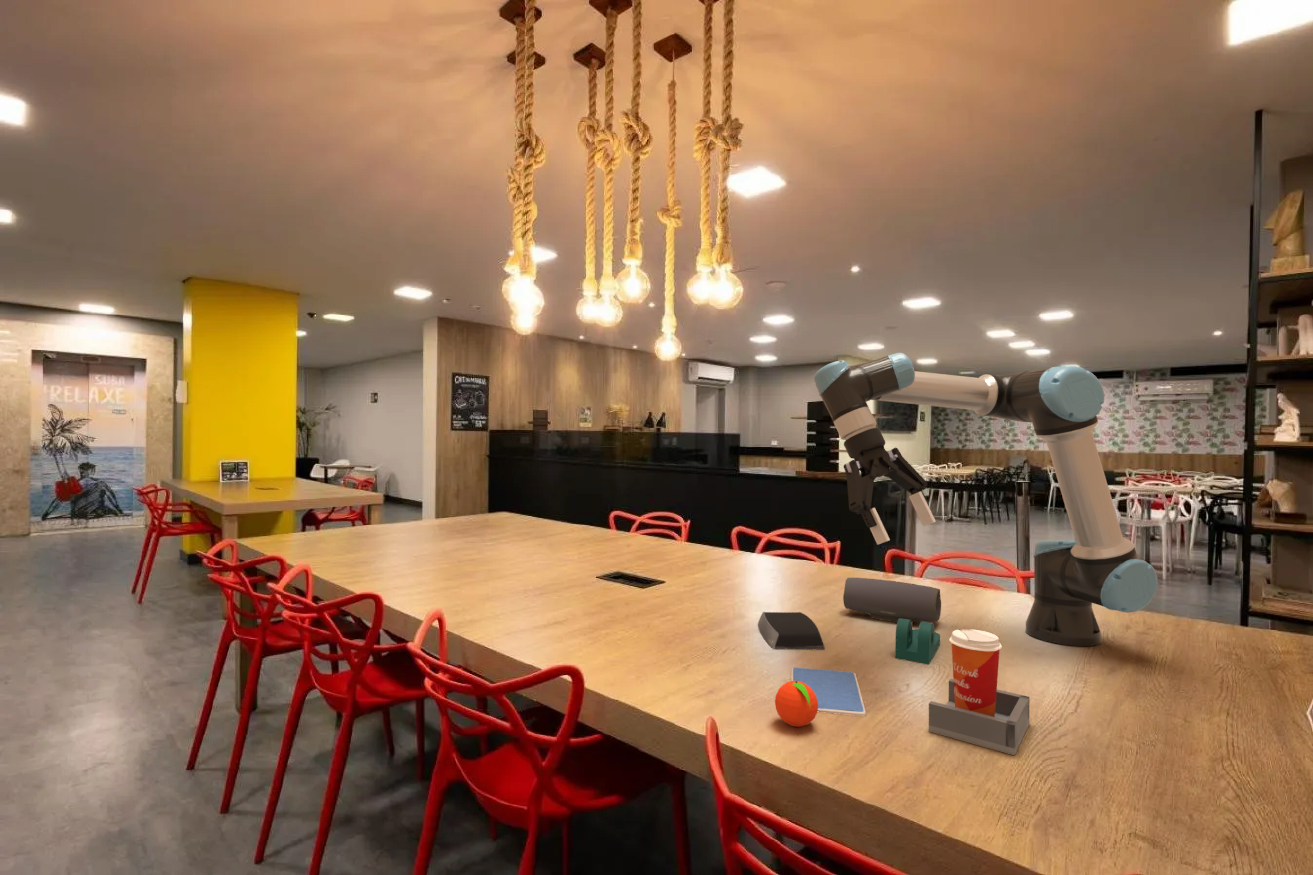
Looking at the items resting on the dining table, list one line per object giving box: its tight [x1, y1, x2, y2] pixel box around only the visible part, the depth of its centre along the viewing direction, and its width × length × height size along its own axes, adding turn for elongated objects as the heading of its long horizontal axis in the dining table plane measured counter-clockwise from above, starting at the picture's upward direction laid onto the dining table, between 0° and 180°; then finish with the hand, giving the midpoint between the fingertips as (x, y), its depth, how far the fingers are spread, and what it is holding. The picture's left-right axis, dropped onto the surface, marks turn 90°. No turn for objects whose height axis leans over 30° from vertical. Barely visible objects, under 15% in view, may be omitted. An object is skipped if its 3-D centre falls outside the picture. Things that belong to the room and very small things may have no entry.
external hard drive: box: [757, 611, 826, 651], centre depth 151 cm, size 13×19×4 cm
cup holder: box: [928, 678, 1031, 756], centre depth 104 cm, size 12×13×4 cm
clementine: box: [774, 680, 818, 728], centre depth 104 cm, size 8×7×7 cm
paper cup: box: [949, 628, 1003, 717], centre depth 104 cm, size 8×8×14 cm
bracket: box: [894, 618, 941, 665], centre depth 142 cm, size 18×7×8 cm, turn 148°
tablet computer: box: [790, 667, 867, 717], centre depth 118 cm, size 19×13×1 cm, turn 168°
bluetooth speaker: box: [842, 577, 942, 623], centre depth 165 cm, size 23×9×10 cm, turn 58°
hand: (907, 533), depth 123 cm, fingers open, 13 cm apart
